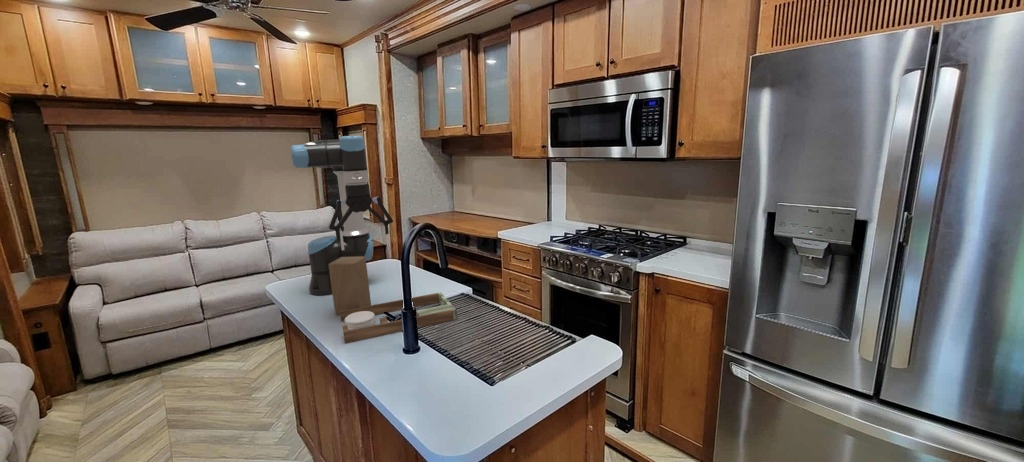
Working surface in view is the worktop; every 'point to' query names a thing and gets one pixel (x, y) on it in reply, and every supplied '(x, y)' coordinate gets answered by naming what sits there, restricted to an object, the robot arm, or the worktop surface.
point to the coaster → (360, 320)
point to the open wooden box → (385, 327)
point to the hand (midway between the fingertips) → (364, 246)
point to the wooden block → (349, 283)
